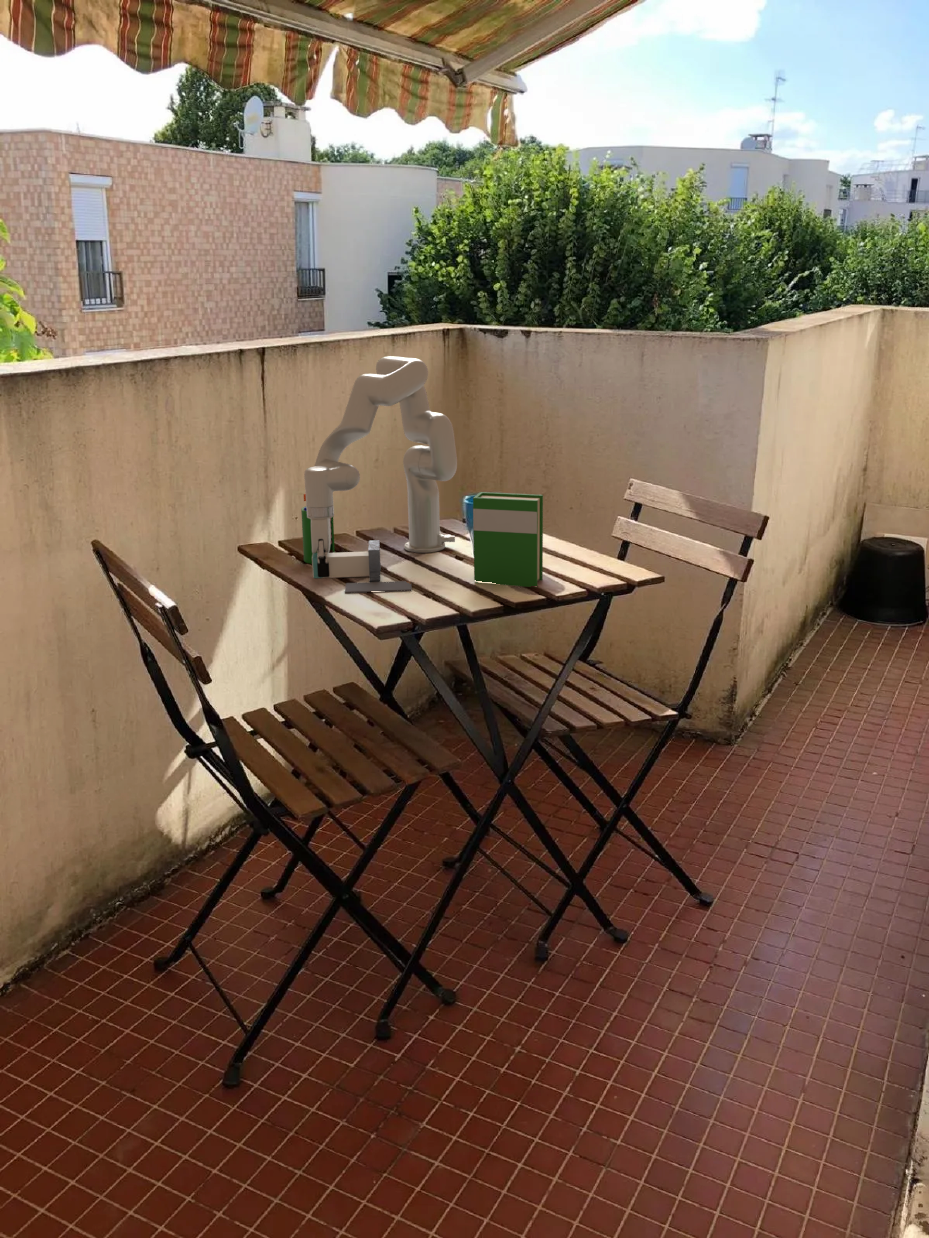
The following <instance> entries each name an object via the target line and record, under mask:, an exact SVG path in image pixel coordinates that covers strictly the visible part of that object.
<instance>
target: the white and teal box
mask: <svg viewBox="0 0 929 1238" xmlns="http://www.w3.org/2000/svg"><path fill="white" fill-rule="evenodd" d="M324 556H325V555H324ZM327 558H328V563H329V577H318V569H317V563H318V558H317V553H314V554H313V555H312V564H311V565H312V578H313V579H328V578H329V579H330V578H333V579H334V578H353V577H354V578H355V577H356V578H357V577H370V574H369V553H368V551H349V552H348V551H346V552H345V551H344V552H343V551H342V552H335V553H327Z"/></svg>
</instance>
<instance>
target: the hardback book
mask: <svg viewBox="0 0 929 1238" xmlns="http://www.w3.org/2000/svg"><path fill="white" fill-rule="evenodd" d="M472 511H473V512H472V514H473V516H472V517H473V519H472V521H473V522H472V523H473V526H472V527H473V528H472V529H473V581H474V580H476V581H482V582H492V583H496V584H500V585H499V586H514V587H524V588H525V587H528V588H532V587H531V586H537V587H538V581H543V577H544V576H543V574H544V573H543V571H544V568H543V565H544V564H543V563H544V562H543V561H544V559H543V557H544V555H543V554H544V551H543V550H544V549H543V548H544V547H543V546H544V545H543V544H544V520H543V519H544V494H532V493H531V494H528V493H514V492H513V493H509V492H508V493H507V492H492V491H491V492H488V491H487V492H485V491H480V492H478V493H477V494H476V495H475V496H474V497H472ZM496 584H495V585H496Z"/></svg>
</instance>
